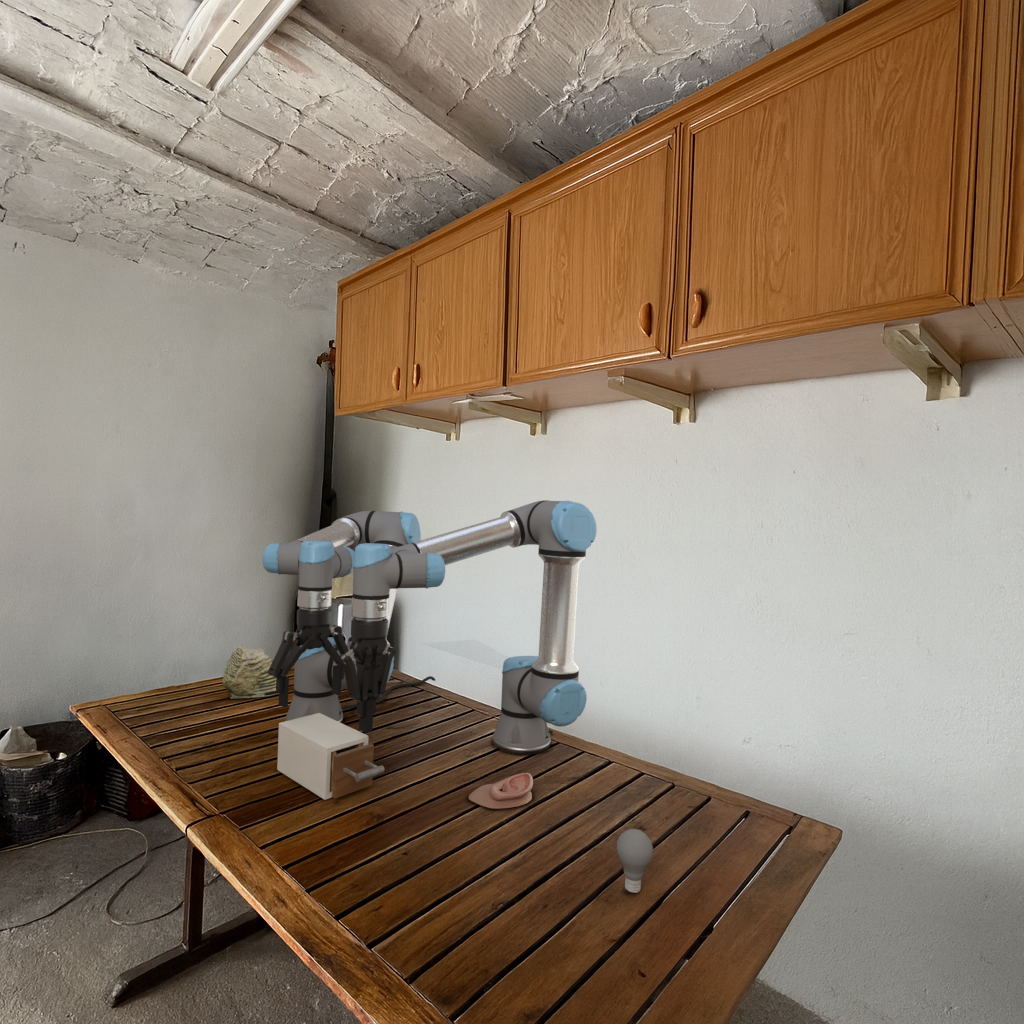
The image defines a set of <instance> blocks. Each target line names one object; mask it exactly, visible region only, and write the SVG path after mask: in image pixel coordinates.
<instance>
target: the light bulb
mask: <svg viewBox="0 0 1024 1024" xmlns="http://www.w3.org/2000/svg"><path fill="white" fill-rule="evenodd" d="M615 849H616V854H617V857H618V859H619V861H620V863H621V865H622V867H623V873H624V874H623V875H624V876H625V878H624V888H625V890H627V891H628V892H630V893H634V894H635V893H639V892H640V891H641V889H642V887H641V886H642V879H643V877H644V875H645V871H646V868H647V867H648V866H649V864H650V863H651V861H652V859H653V855H654V847H653V843H652V841H651V838H649V836H648V835H647V834H646V833H645V832H643V831H642V830H641V829H636V828H629V829H627V830H625V831H623V832H622V833H621V834H620V835H619V837H618V839H617V841H616V847H615Z"/></svg>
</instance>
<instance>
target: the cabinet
mask: <svg viewBox="0 0 1024 1024" xmlns="http://www.w3.org/2000/svg"><path fill="white" fill-rule="evenodd" d="M277 737H278V739H277V742H278V743H277V762H276V763H277V767H276V769H277V771H278V772H280V773H281V774H283V775H285V776H286V777H288V778H289V779H291V780H292V781H294V782H296V783H297V784H299V785H300V786H302V787H304V788H305V789H307V790H308V791H310V792H312V793H313V794H315V795H316V796H318V797H319V798H321V799H323V800H324V801H326V800H328V799H331V798H333V797H332V790H330V770H331V752H334V751H337V750H340V749H343V748H347V747H350V746H353V745H356V744H360V743H361V744H362V746H364V745H368V744H369V735H367V734H366V733H364V732H362V731H360V730H357V729H354V728H353V727H351V726H348V725H346V724H345V723H343V722H342V723H340V722H338V721H336V720H334V719H331V718H329V717H327V716H325V715H323V714H321V713H317V714H313V715H309V716H305V717H301V718H297V719H293V720H289V721H286V720H285V721H281V722H279V723H278V735H277Z"/></svg>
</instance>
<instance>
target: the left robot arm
mask: <svg viewBox="0 0 1024 1024" xmlns="http://www.w3.org/2000/svg"><path fill="white" fill-rule="evenodd" d="M420 540H422V535H421V525H420V522H419V519H418V517H417V515H415V513H412V512H404V511H383V510H362V511H358V512H354V513H350V514H348V515H345V516H342V517H340V518H338V519H337V518H336V520H334V521H333V522H332V523H331V525H330V526H327V527H324V528H321V529H319V530H317V531H314V532H312V533H309V534H308V535H305V536H303V537H301V538H298V539H295V540H293V541H290V542H288V543H282V542H278V543H269V544H268V545H267V546H266V547H265V548H264V550H263V554H262V566H263V568H264V570H265V571H266V572H268V573H270V574H278V575H289V576H291V575H292V576H298V586H297V600H296V601H297V604H296V605H297V607H298V609H297V610H296V625H297V627H296V631H288V630H285V631H284V632H283V634H282V640H281V643H280V645H279V648H278V649H277V651H276V654H275V656H274V658H273V659H272V660H273V662H272V664H271V666H270V668H269V670H268V674H270V675H272V676H274V677H276V691H278V692H279V694H278V705H279V706H281V707H282V708H288V707H289V708H288V711H287V713H286V715H285V721H289V720H293V719H297V718H301V717H305V716H309V715H313V714H317V713H321V714H323V715H325V716H327V717H329V718H331V719H334V720H336V721H338V722H340V723H342V724H343V722H344V714H343V710H346V709H354V708H357V703H352V704H345V705H341V702H340V699H339V696H341V695H342V690H348V689H347V684H346V678H345V673H344V667H343V664H342V662H341V661H340V659H339V656H340V655H341V654H344V655H345V654H346V653H347V652H348V651H349V650H350V645H351V643H352V637H351V635H350V636H348V640H347V643H346V641H345V638H344V636H343V627H342V626H341V625H337V624H333V625H332V626H330V625H331V623H332V610H331V608H330V607H332V600H333V580H334V579H339V578H344V577H346V576H349V575H351V574H353V563H354V554H355V550H354V548H356V546H357V545H359V544H364V543H376V544H388V545H390V547H391V546H395V547H400V546H403V545H407V544H411V543H413V542H417V541H420ZM398 589H399V588H397V589H390V591H389V612H388V616H387V617H385V618H386V619H387V620H388V629H389V628H390V625H391V624H390V623H391V619H392V614H393V610H394V606H395V601H396V597H397V593H398ZM330 636H331V637H330ZM387 636H388V635H387ZM387 636H386V640H387ZM296 639H297V640H296ZM295 641H296V642H295ZM294 642H295V643H294ZM293 644H294V645H293ZM387 645H389V646H390V647H391V644H390V642H389V641H388V640H387ZM291 648H292V649H291ZM290 650H291V651H290ZM354 659H355V657H354ZM394 661H395V656H394V657H393V659H392V662H391V667H390V671H389V675H388V680H387V683H389V681H390V678H391V677H392V676H391V675H392V673H393V671H394V666H395V665H394V664H395V663H394ZM354 664H355V668H356V674H357V666H356V659H355V661H354ZM293 667H294V672H293V695H292V696H293V697H292V699H291V702H290V704H289V692H290V691H289V690H290V689H289V688H290V677H288V674H289V672H290V671H291V670H292V668H293ZM429 680H432V681H433V682H436V679H435V677H434V676H430V675H429V676H427V677H425V678H423V679H422V680H419V681H415V682H407V683H400V684H396V685H393V686H391V687H389V688H388V689H385V692H384V694H381V695H382V696H381V697H380V698H379V700H376V705H377V704H380V703H382V702H383V701H384V700H385V699H386V696H387V694H389V693H390V692H391V691H393V690H395V689H399V688H404V687H413V686H418V685H422V684H424V683H426V682H427V681H429Z"/></svg>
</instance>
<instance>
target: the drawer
mask: <svg viewBox="0 0 1024 1024" xmlns="http://www.w3.org/2000/svg"><path fill="white" fill-rule="evenodd" d="M374 751H375V745H374V744H372V743H368V745H364V746H362V744H361V743H360V744H356V745H353V746H350V747H347V748H343V749H340V750H337V751H334V752H331V770H330V790H332V798H333V799H334V800H336V799H339V798H342V797H344V796H346V795H350V794H352V793H354V792H357V791H360V790H363V789H365V788H368V787H371V786H373V777H376V776H379V775H382V774H384V773H385V772H386V771H385V770H386V769H385V766H384V765H383V764H381V765H376V764H374V754H375V753H374Z"/></svg>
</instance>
